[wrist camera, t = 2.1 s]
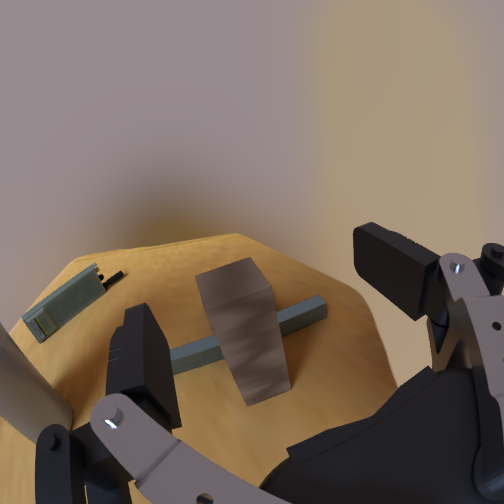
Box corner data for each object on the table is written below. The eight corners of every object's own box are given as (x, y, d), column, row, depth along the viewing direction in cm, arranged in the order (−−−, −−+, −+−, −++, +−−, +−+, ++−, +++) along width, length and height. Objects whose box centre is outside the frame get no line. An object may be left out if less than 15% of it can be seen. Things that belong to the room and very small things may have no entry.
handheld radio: (38, 339, 41) (121, 275, 57) (41, 346, 39) (128, 279, 55) (20, 314, 37) (109, 250, 54) (22, 321, 35) (116, 253, 52)
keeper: (165, 377, 30) (157, 365, 29) (160, 318, 41) (154, 306, 40) (326, 317, 35) (326, 302, 33) (288, 273, 45) (286, 260, 44)
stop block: (247, 406, 25) (204, 310, 19) (234, 373, 30) (194, 275, 23) (291, 389, 26) (271, 286, 20) (274, 358, 31) (250, 256, 24)
